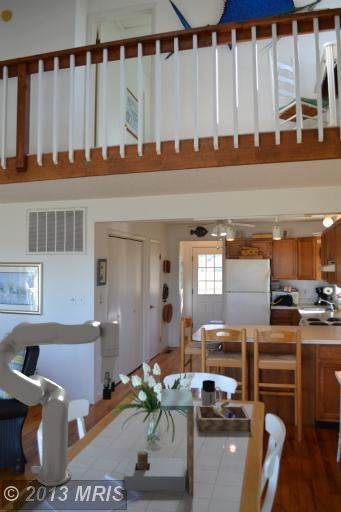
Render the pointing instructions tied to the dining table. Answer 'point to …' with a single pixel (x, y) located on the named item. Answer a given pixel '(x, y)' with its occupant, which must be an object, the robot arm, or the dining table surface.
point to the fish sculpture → (222, 411)
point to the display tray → (223, 420)
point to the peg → (142, 460)
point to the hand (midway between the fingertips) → (108, 395)
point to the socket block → (156, 475)
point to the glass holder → (209, 393)
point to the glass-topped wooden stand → (184, 401)
